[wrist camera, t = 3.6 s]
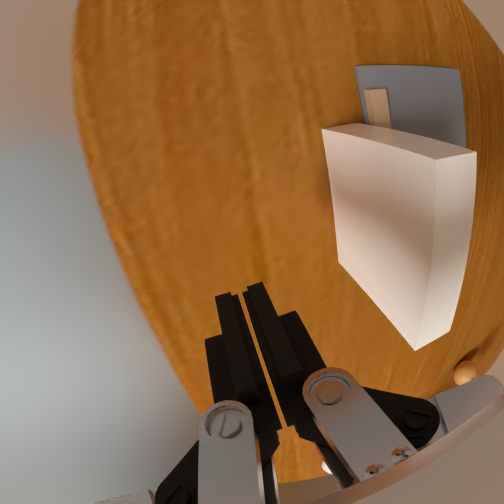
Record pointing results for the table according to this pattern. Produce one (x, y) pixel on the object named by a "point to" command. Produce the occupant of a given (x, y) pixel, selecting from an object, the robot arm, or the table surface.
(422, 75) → the charcoal mat
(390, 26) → the table surface
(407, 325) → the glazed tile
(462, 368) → the figurine
